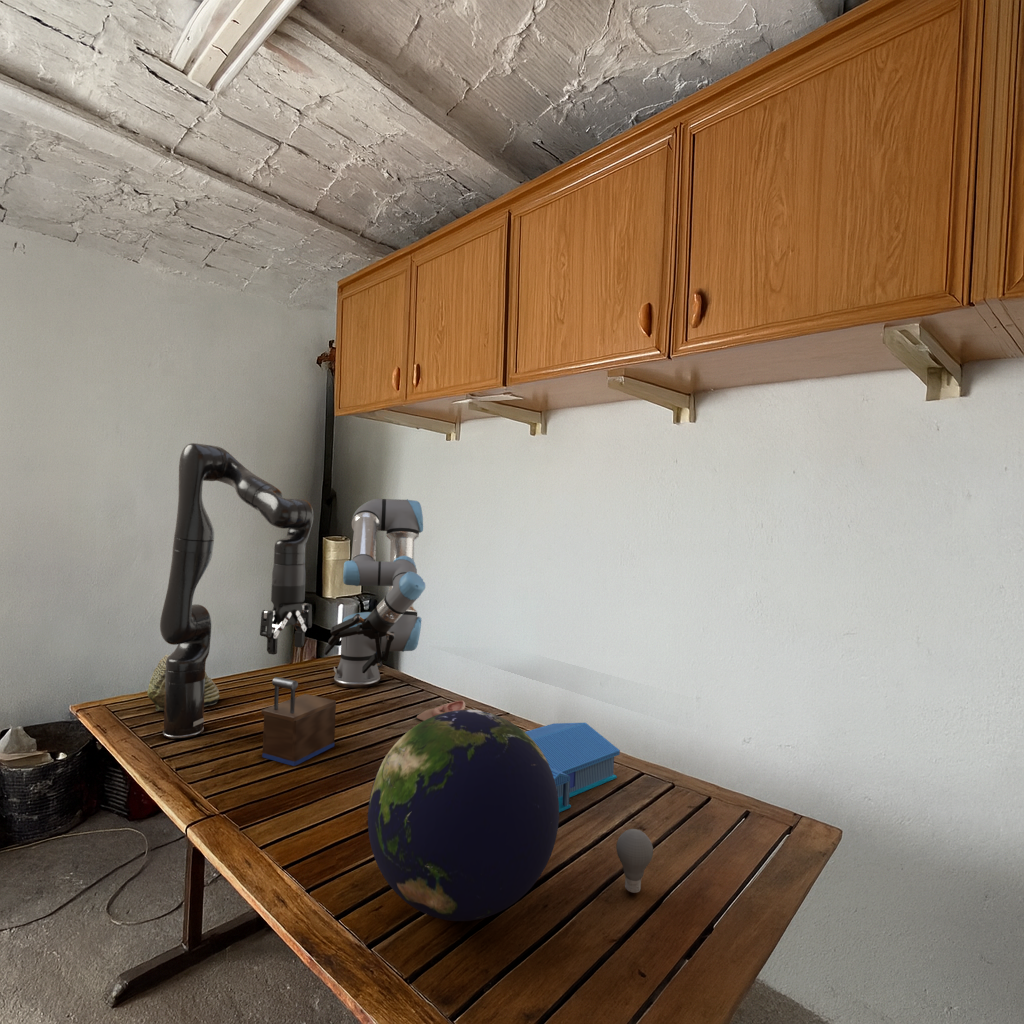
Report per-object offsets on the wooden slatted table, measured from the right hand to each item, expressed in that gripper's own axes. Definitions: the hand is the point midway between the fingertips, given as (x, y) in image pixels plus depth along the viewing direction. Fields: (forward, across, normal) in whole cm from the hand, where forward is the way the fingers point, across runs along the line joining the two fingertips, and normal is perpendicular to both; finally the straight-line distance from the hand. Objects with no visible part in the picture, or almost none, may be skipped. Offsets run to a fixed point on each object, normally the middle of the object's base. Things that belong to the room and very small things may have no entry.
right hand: (344, 661), depth 196 cm
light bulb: (-57, +24, -98) cm, 116 cm away
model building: (-39, +27, -63) cm, 79 cm away
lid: (-8, -16, -35) cm, 40 cm away
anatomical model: (-13, +26, -21) cm, 36 cm away
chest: (0, -11, -40) cm, 41 cm away
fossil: (+34, -32, -6) cm, 47 cm away
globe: (-41, 0, -97) cm, 106 cm away
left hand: (-20, -28, -32) cm, 47 cm away
